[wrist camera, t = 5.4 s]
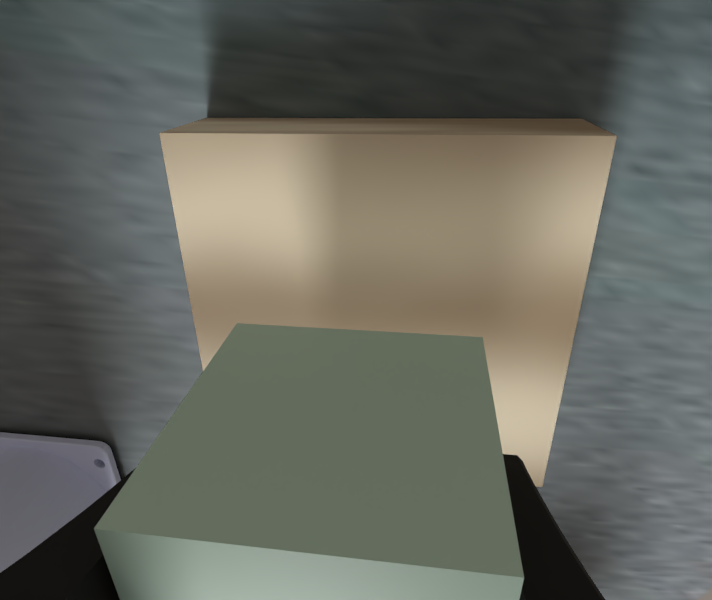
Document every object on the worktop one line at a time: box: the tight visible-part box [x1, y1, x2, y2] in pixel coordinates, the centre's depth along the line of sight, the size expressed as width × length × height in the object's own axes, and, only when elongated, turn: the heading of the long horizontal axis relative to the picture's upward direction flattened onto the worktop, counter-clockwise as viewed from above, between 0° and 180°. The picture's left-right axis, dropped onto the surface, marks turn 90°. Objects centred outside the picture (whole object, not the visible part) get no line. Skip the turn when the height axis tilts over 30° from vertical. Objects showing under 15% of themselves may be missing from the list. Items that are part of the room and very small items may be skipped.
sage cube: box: [94, 323, 524, 600], centre depth 9 cm, size 5×5×5 cm
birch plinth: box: [159, 118, 617, 487], centre depth 16 cm, size 11×11×3 cm
